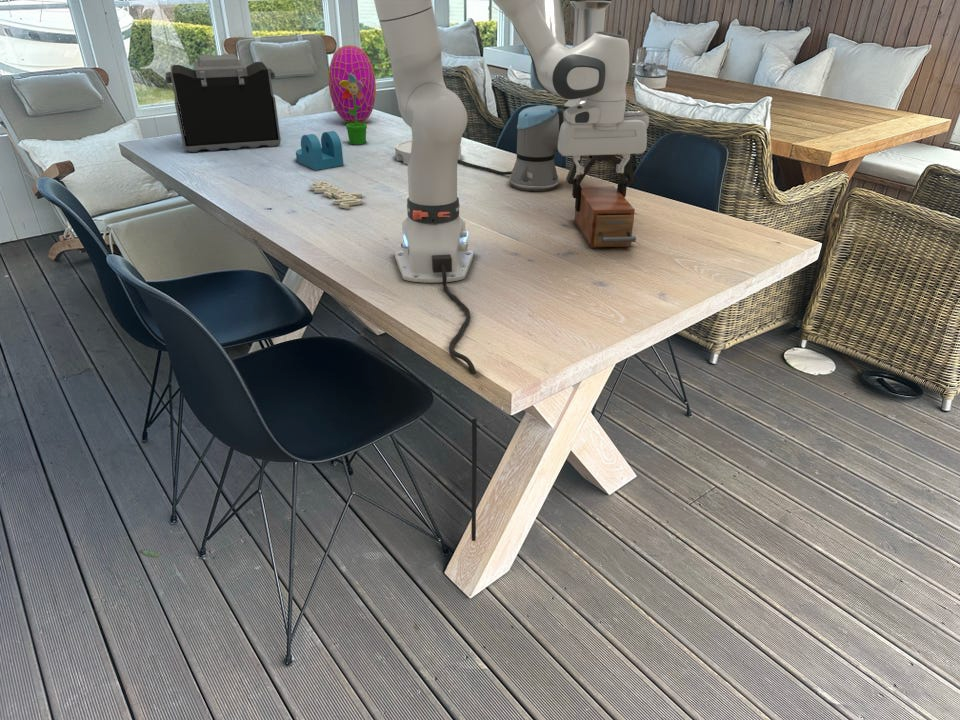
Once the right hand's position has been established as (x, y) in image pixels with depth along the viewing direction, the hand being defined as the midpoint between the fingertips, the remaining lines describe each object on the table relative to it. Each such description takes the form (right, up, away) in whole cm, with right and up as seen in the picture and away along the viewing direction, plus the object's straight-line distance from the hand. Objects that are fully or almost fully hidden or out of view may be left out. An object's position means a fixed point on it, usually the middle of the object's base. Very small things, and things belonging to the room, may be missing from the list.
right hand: (597, 209), depth 182 cm
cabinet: (0, -7, -2) cm, 7 cm away
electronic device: (-125, +42, +77) cm, 153 cm away
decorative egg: (-84, +62, +112) cm, 153 cm away
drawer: (+1, -9, -7) cm, 11 cm away
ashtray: (-49, +32, +62) cm, 86 cm away
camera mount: (-87, +28, +55) cm, 107 cm away
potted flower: (-78, +43, +80) cm, 120 cm away
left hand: (-3, +4, -21) cm, 22 cm away
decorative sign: (-73, +9, +23) cm, 78 cm away
